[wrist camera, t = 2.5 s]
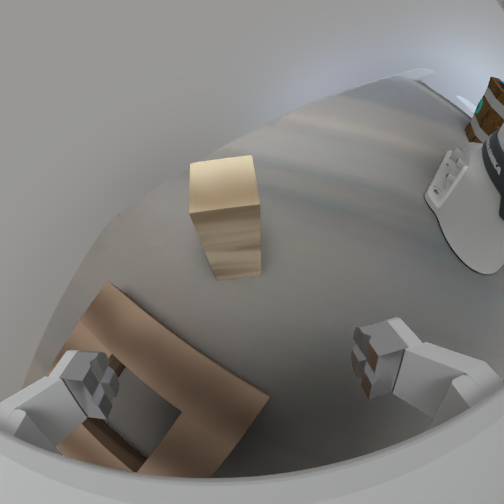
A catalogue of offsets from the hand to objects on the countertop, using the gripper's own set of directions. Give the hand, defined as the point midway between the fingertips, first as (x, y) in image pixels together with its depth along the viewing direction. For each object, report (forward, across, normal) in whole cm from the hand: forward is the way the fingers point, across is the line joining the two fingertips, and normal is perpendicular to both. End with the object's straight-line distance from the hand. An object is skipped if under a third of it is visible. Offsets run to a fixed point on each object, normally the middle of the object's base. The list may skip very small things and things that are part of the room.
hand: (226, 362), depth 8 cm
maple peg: (+21, 0, +4) cm, 21 cm away
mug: (+35, -56, -10) cm, 67 cm away
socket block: (+10, +11, +15) cm, 21 cm away
